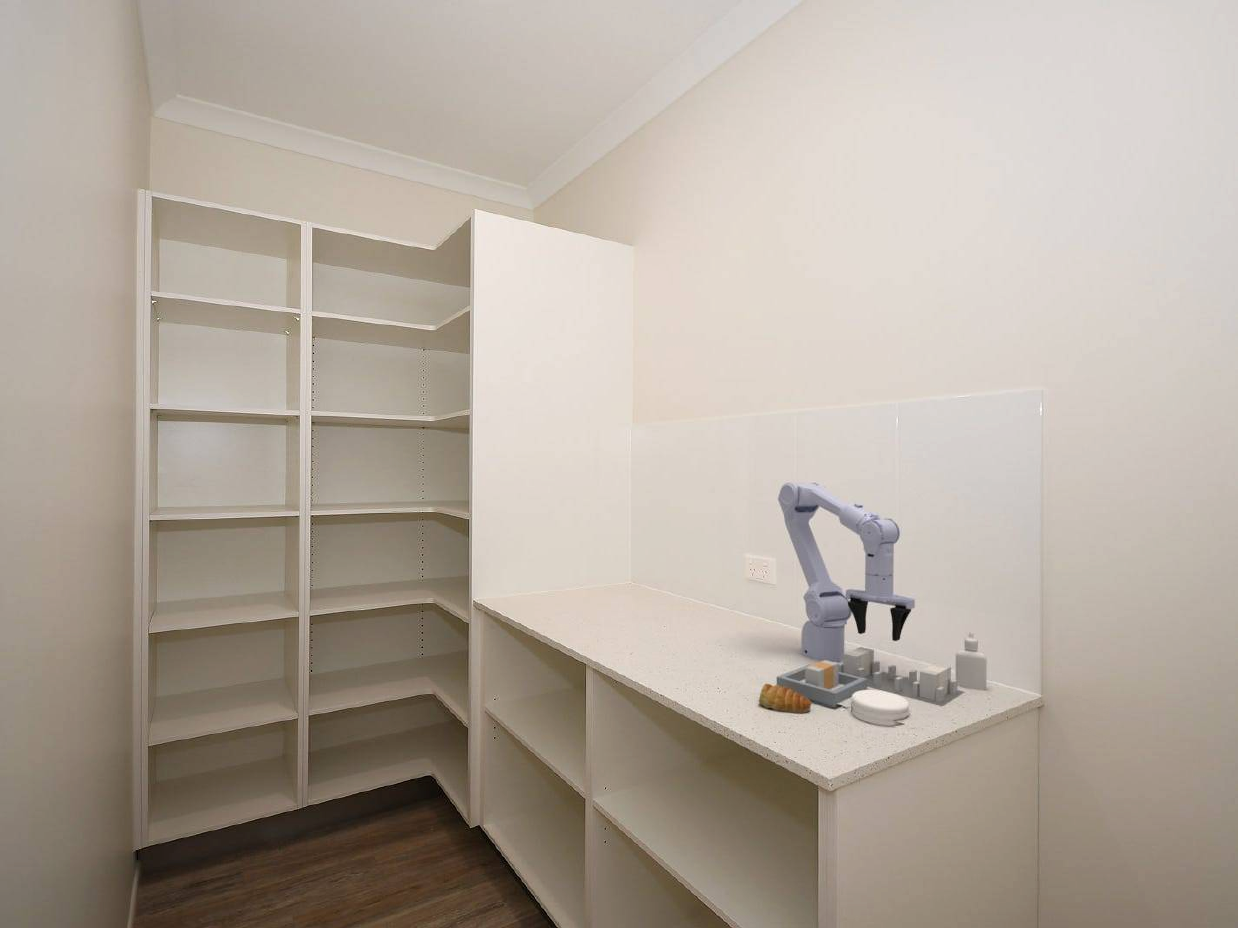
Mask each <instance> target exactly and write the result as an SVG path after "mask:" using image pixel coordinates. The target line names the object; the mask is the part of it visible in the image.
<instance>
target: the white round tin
mask: <svg viewBox="0 0 1238 928" xmlns="http://www.w3.org/2000/svg"><path fill="white" fill-rule="evenodd" d="M850 699H851V704H850V705H851V709H850V711H851V714H852V715H853V717H855V718H856V719H858V720H860V721H862V722H865V723H869V724H872V725H875V726H884V727H899V726H904V725H905V723H903V722H899V721H900V720H904V719H906V718H907V717H909V715H910V706H911V705H910V703H909V702H908V700H907V699H906V698H904V696H901V695H897V694H893V693H890V692H886V691H882V690H878V689H866V690H862V691H857V692H855V693H854V694H853V695H852V697H850Z"/></svg>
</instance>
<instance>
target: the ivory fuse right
mask: <svg viewBox="0 0 1238 928" xmlns="http://www.w3.org/2000/svg"><path fill="white" fill-rule="evenodd" d="M951 680H952V666H949V665H944V664H941V663H940V664H939V663H933V664H931V665H930V666H927V667H925V668H923V669H921V670H919V681H920V696H919V697H923V698H926V699H930V700H934V701H936V689H937V688H939V687H944V695H946V694H947V693H949V692H950V681H951Z"/></svg>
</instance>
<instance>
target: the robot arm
mask: <svg viewBox="0 0 1238 928" xmlns="http://www.w3.org/2000/svg"><path fill="white" fill-rule="evenodd" d="M777 500H778V502H779V505H780V506H779V507H781V511H782V513H783V518H784V523H785V527H786V530H787V533H788V534H789V537H790V540H791V543H792V546H793V548H794V551H795V553H796V556H797V559H798V562H799V565H800V566H801V569H802V572H803V574H804V578H805V580H806V583H807V586H808V589H807V590H806V592H805V593H804V595H803V600H804V602H805V603H804V604H805V614H806V616H807V618H808V620H807V621H805V622H804V624H803V626H802V628H801V634H800V635H801V638H800V639H801V641H800V642H801V643H800V646H801V647H800V648H801V650H800V651H801V652H800V653H801V654H800V655H801V656H804V657H808V658H811V659H815V660H818V661H820V662H822V661H824V660H827V661H831V662H835V663H842V662H843V654H844V653H845V625H847V624H848V620H849V619H850V618H851V616H853V619H854V622H855V625H856V628H857V633H858V634H860V635H862V634H865V633H866V629H867V612H868V611H867V610H868V604H869V603H874V604H875V603H876V604H880V605H887V606H893V607H890V615H891V623H892V624H891V625H892V626H891V627H892V629H891V631H892V633H891V638H892V641H893V642H897V641H900V639H901V635H902V631H903V628H904V625H905V623H906V621H907V619H908V617H909V616H910V614H911V612H912V609H915V607H916V605H915V603H916V602H915V598H910V597H906V596H901V595H899V594H898V595H897V594H894V557H895V556H894V554H895V553H894V550H895V549H894V545H895V544H896V543H897V542H898V541H899V540H900V535H901V531H900V527H899V525H898V523H896V522H895V520H893V518H880V517H879V514H878V513H876V512H871V511H869V510H867V509H866V508H864V505H863V504H862V503H861V502H851V503H848V504H847V503H846V502H844V501H843V500H841V499H839V497H837V496H835V495H834V494H833V493H831V492H829V490H827V489H826V488H825V486H823V485H820V483H817V482H810V483H809V482H808V483H807V482H806V483H805V482H804V483H803V482H802V483H801V482H800V483H798V482H797V483H795V482H785V483H784V484H783V485H782V487H780V490H779V493H778V497H777ZM819 508H822V509H824V510H825V511H828V512H830V513H831V514H833V515H835V516H837V517H838V521H839V522H840V524H841V525H842V526H844V527H845V528H847V529H848V530H850V531H851V532H853V533H855V534H856V535H858V536H859V538H860V541H861V542H862V544H863V551H864V553H865V554H864V555H865V560H864V561H865V564H864V566H865V568H864V569H865V570H864V571H865V572H864V574H865V575H864V579H865V580H864V583H865V584H864V590H861V589H860V590H858V589H852V588H850V589H846V590H845V593H844V591H843V588H842V587H840V585H838V584H836V583H835V582H833V581H832V579H831V577H830V575H829V572H828V570H827V567H826V564H825V562H824V560H823V556H822V554H821V552H820V549H819V547H818V544H817V541H816V539H815V536H814V534H813V531H812V529H811V527H810V523H809V522H810V520H811V519H812V518H813V517H814V516H815V514H816V512H817V511H818V509H819Z"/></svg>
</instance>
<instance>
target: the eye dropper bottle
mask: <svg viewBox="0 0 1238 928" xmlns="http://www.w3.org/2000/svg"><path fill="white" fill-rule="evenodd" d="M978 644H979V641H978V639H977V638H975V635H974V633H973V632H969V633H968V637H966V638H964V648H963V649H959V650H957V652H956V653H955V679H956V680H958V682H957V687H962V688H967V689H971V690H972V689H973V690H980V691H986V690H987V673H988V672H987V663H988V662H987V655H986V654H984V653H983V652H981V651H980V650H979V651H978V649H979V645H978Z"/></svg>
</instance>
